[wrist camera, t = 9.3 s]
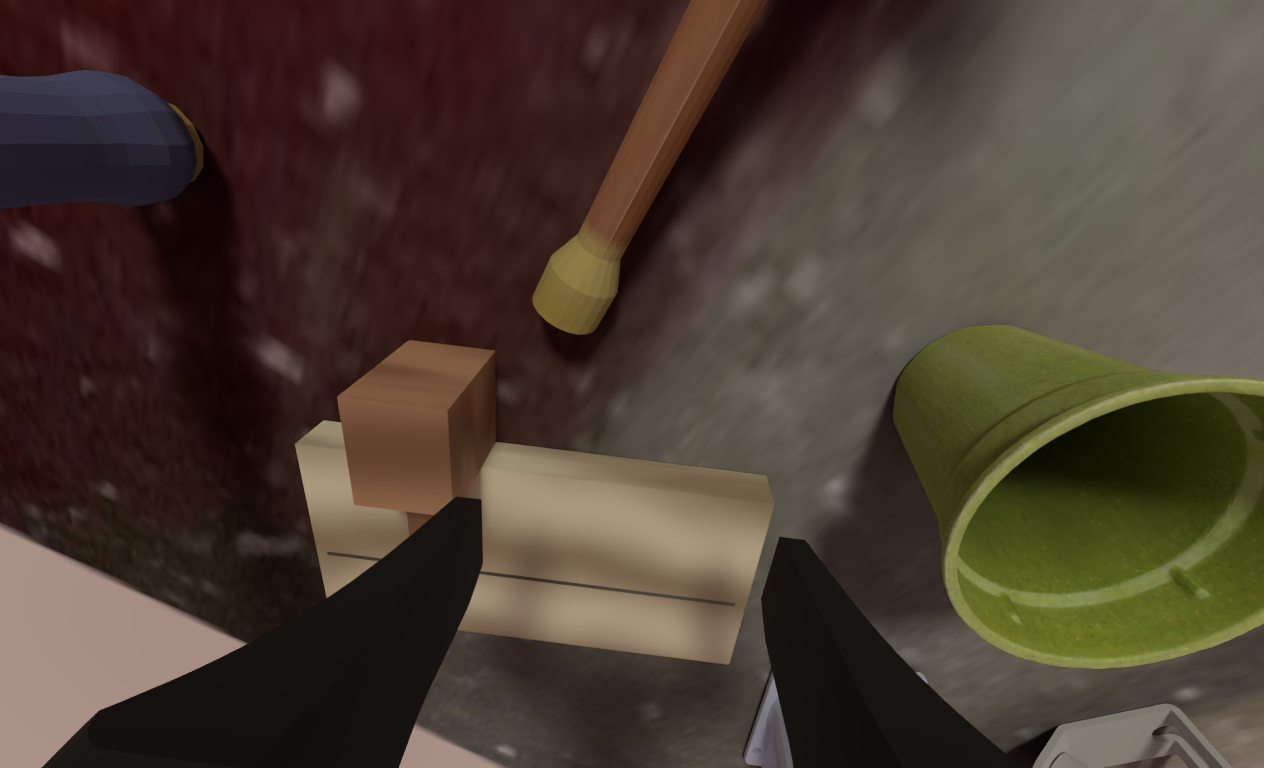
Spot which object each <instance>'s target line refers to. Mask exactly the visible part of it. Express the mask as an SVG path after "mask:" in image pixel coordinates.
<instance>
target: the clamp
mask: <svg viewBox="0 0 1264 768" xmlns="http://www.w3.org/2000/svg"><path fill="white" fill-rule="evenodd" d="M1168 725H1173V726H1175V727H1176V728H1177V729H1178V730H1179V731H1180V733H1181V734H1182V735H1183V736H1184V737H1185V738H1186V739H1187V741H1188V742H1189V743H1190V744H1191V745H1192V746H1193V748H1194V749H1195V750H1196V751H1197V752H1198V753H1199V755H1200V756H1201V757H1202V758H1203V759H1204V760H1205V762H1206V763H1207V764H1208V765H1209V766H1210V767H1211V768H1232V767H1231V766H1230V765H1229V764H1228V763H1227V761H1226V760H1225V759H1224V758H1223V757H1222V756H1221V755H1220V754H1219V753H1218V751H1217V750H1216V749H1215V748H1214V747H1213V746H1212V745H1211V744H1210V742H1209V741H1208V740H1207V739H1206V738H1205V737H1204V736H1203V735H1202V734H1201V732H1200V731H1199V730H1198V729H1197V728H1196V727H1195V726H1194V725H1193V723H1192V722H1191V721H1190V720H1189V719H1188V718H1187V717H1186V716H1185V715H1184V713H1183V712H1182V711H1181V710H1180V709H1179V708H1177V707H1176V706H1174V705H1171V704H1165V703H1164V704H1160V705H1155V706H1150V707H1145V708H1140V709H1135V710H1130V711H1126V712H1121V713H1116V714H1111V715H1106V716H1101V717H1096V718H1092V719H1087V720H1082V721H1077V722H1072V723H1067V724H1062V725H1060V726H1058V728H1057V729H1056V731H1055V732H1054V734H1053V735H1052V737H1051V738H1050V740H1049V741H1048V743H1047V744H1046V746H1045V747H1044V749H1043V750H1042V752H1041V753H1040V755H1039V756H1038V758H1037V760H1036V762H1035V764H1034V766H1033V768H1103V767H1108V766H1113V765H1119V764H1124V763H1130V762H1135V761H1140V760H1146V759H1151V758H1157V757H1162V756H1167V755H1173V754H1177V755H1179V756H1180V757H1181V758H1182V760H1183V761H1184V762H1185V763H1186V764H1187V766H1188V767H1189V768H1208V767H1207V766H1206V765H1205V764H1204V763H1203V761H1202V760H1201V759H1200V758H1199V757H1198V756H1197V754H1196V753H1195V752H1194V751H1193V750H1192V749H1191V747H1190V746H1189V745H1188V744H1187V743H1186V742H1185V740H1183V739H1182V738H1181V737H1179V736H1177V735H1174V734H1163V735H1158V736H1156V735H1152V733H1153V731H1154V730H1155V729H1157V728H1159V727H1163V726H1168Z"/></svg>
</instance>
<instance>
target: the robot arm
mask: <svg viewBox="0 0 1264 768" xmlns="http://www.w3.org/2000/svg"><path fill="white" fill-rule="evenodd" d="M482 565H483V540H482V499H474V498H466V497H458V496H456V497H455V498H454V499H452V500H451V501H450V502H449V503H448V504H446V505H445V506H444V507H443V508H442V509H441V510H439V511H438V512H437V513H436V514H435V515H434V516H433V517H431V518H430V519H429V520H428V521H427V522H426V523H424V524H423V525H422V526H421V527H420V528H419V529H417V530H416V531H415V532H414V533H413V534H412V535H410V536H409V537H408V538H407V539H405V540H404V541H403V542H402V543H401V544H399V545H398V546H397V547H396V548H394V549H393V550H392V551H391V552H390V553H388V554H387V555H386V556H384V557H383V558H382V559H381V560H379V561H378V562H377V563H375V564H374V565H373V566H371V567H370V568H368V569H367V570H366V571H364V572H363V573H362V574H360V575H359V576H358V577H356V578H355V579H354V580H352V581H351V582H350V583H348V584H347V585H345V586H344V587H342V588H341V589H339V590H338V591H337V592H335V593H334V594H332V595H331V596H329V597H328V598H326V599H324V600H323V601H321V602H320V603H318V604H317V605H315V606H314V607H312V608H310V609H309V610H307V611H305V612H304V613H302V614H301V615H299V616H297V617H295V618H294V619H292V620H290V621H288V622H286V623H285V624H283V625H281V626H279V627H277V628H276V629H274V630H272V631H270V632H269V633H267V634H265V635H263V636H261V637H260V638H258V639H256V640H254V641H252V642H251V643H249V644H247V645H245V646H243V647H241V648H239V649H237V650H235V651H233V652H231V653H229V654H227V655H225V656H223V657H221V658H219V659H217V660H215V661H213V662H211V663H209V664H206V665H204V666H202V667H200V668H198V669H196V670H194V671H192V672H189V673H187V674H185V675H183V676H181V677H179V678H176V679H174V680H172V681H170V682H167V683H165V684H162V685H160V686H157V687H155V688H153V689H150V690H148V691H146V692H143V693H141V694H139V695H136V696H134V697H131V698H129V699H127V700H124V701H122V702H120V703H117V704H115V705H112V706H110V707H107V708H105V709H102V710H100V711H98V712H97V713H96V714H95V715H94V716H93V717H92V718H91V719H90V720H89V721H88V722H87V723H86V724H85V725H84V726H83V727H82V728H81V729H80V730H79V731H78V732H77V733H76V734H75V735H74V736H72V738H71V739H70V740H69V741H68V742H67V743H66V744H65V745H64V746H63V747H62V748H61V749H60V750H59V751H58V752H57V753H56V754H55V755H54V756H53V757H52V758H51V759H50V760H49V761H48V762H47V763H46V764H45V765H44V766H43V767H42V768H399V765H400V763H401V760H402V757H403V754H404V752H405V749H406V746H407V744H408V741H409V738H410V735H411V732H412V730H413V727H414V724H415V722H416V719H417V716H418V714H419V712H420V709H421V707H422V705H423V702H424V700H425V698H426V695H427V693H428V691H429V689H430V687H431V685H432V682H433V680H434V678H435V676H436V674H437V672H438V670H439V668H440V666H441V663H442V661H443V659H444V657H445V655H446V653H447V651H448V649H449V647H450V644H451V642H452V640H453V638H454V636H455V634H456V632H457V630H458V627H459V625H460V623H461V621H462V619H463V617H464V615H465V612H466V610H467V608H468V606H469V604H470V601H471V598H472V595H473V592H474V589H475V586H476V583H477V580H478V577H479V574H480V571H481V568H482ZM761 602H762V613H763V623H764V631H765V640H766V645H767V650H768V654H769V659H770V663H771V668H772V673H771V676H770V679H769V682H768V685H767V688H766V691H765V694H764V697H763V700H762V703H761V706H760V709H759V712H758V714H757V717H756V720H755V723H754V726H753V729H752V732H751V735H750V738H749V741H748V744H747V747H746V750H745V753H744V757H745V761H746V763H748V764H750V765H756V766H761V768H1023V767H1022V766H1020V765H1019V764H1018V763H1017V762H1015V761H1014V760H1013V759H1012V758H1010V757H1009V756H1008V755H1007V754H1005V753H1004V752H1003V751H1002V750H1001V749H999V748H998V747H997V746H996V745H994V744H993V743H992V742H991V741H990V740H988V739H987V738H986V737H985V736H984V735H983V734H982V733H980V732H979V731H978V730H977V729H976V728H975V727H974V726H972V725H971V724H970V723H969V722H968V721H967V720H966V719H964V718H963V717H962V716H961V715H960V714H959V713H958V712H956V711H955V710H954V709H953V708H952V707H951V706H950V705H949V704H948V703H947V702H946V701H944V700H943V699H942V698H941V697H940V696H939V695H938V694H937V693H936V692H935V691H934V690H933V689H932V688H931V687H930V686H929V685H928V684H927V683H928V682H927V680H926V678H925V676H924V674H922V673H920V672H915V671H914V670H913V669H912V668H911V667H910V666H909V665H908V664H907V663H906V662H905V661H904V660H903V659H902V658H901V657H900V656H899V655H898V654H897V653H896V651H895V650H894V649H893V648H892V647H891V646H890V645H889V644H888V643H887V641H886V640H885V639H884V638H883V637H882V636H881V635H880V634H879V633H878V631H877V630H876V629H875V628H874V627H873V626H872V624H871V623H870V622H869V621H868V620H867V619H866V617H865V616H864V615H863V614H862V613H861V611H860V610H859V609H858V608H857V607H856V605H855V604H854V603H853V602H852V600H851V599H850V598H849V597H848V595H847V594H846V593H845V592H844V590H843V589H842V588H841V586H840V585H839V584H838V583H837V581H836V580H835V579H834V577H833V576H832V575H831V574H830V572H829V571H828V570H827V568H826V567H825V566H824V564H823V563H822V562H821V560H820V559H819V558H818V556H817V555H816V554H815V552H814V551H813V550H812V548H811V547H810V546H809V545H808V543H807V542H806V541H805V540H800V539H792V538H784V537H779V540H778V544H777V547H776V551H775V554H774V557H773V561H772V564H771V567H770V571H769V574H768V577H767V581H766V584H765V587H764V591H763V594H762V597H761Z"/></svg>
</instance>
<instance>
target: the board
mask: <svg viewBox="0 0 1264 768" xmlns="http://www.w3.org/2000/svg"><path fill="white" fill-rule="evenodd" d="M295 447H296V452H297V456H298V461H299V466H300V471H301V476H302V481H303V485H304V490H305V495H306V500H307V505H308V510H309V514H310V519H311V524H312V529H313V534H314V539H315V543H316V548H317V553H318V558H319V563H320V568H321V572H322V577H323V582H324V587H325V592H326V597H327V598H328V597H329V596H331V595H332V594H334V593H335V592H337V591H338V590H339V589H341V588H342V587H344V586H345V585H347V584H348V583H350V582H351V581H352V580H354V579H355V578H356V577H358V576H359V575H360V574H362V573H363V572H364V571H366V570H367V569H368V568H370V567H371V566H373V565H374V564H375V563H377V562H378V561H379V560H381V559H382V558H383V557H384V556H386V555H387V554H388V553H390V552H391V551H392V550H393V549H394V548H396V547H397V546H398V545H399V544H401V543H402V542H403V541H404V540H405V539H407V538H408V537H409V529H408V519H407V512H405V511H397V510H389V509H381V508H373V507H365V506H357V505H354V501H353V494H352V488H351V482H350V475H349V469H348V463H347V456H346V450H345V444H344V437H343V431H342V425H341V422H333V421H325V420H324V421H322V422H321V423H320V424H319V425H318V426H316V427H315V428H314V429H313V430H311V431H310V432H309V433H308V434H307V435H305V436H304V437H303V438H302V439H301V440H299V441H298V442H297V443H296V444H295ZM465 497H466V498H474V499H482V540H483V565H482V568H481V571H480V574H479V577H478V580H477V583H476V586H475V589H474V592H473V595H472V598H471V601H470V604H469V606H468V608H467V610H466V612H465V615H464V617H463V619H462V621H461V623H460V625H459V627H458V630H461V631H469V632H477V633H485V634H493V635H500V636H508V637H516V638H524V639H532V640H540V641H547V642H555V643H563V644H571V645H579V646H586V647H594V648H602V649H610V650H618V651H625V652H633V653H641V654H649V655H657V656H665V657H672V658H680V659H688V660H696V661H704V662H711V663H719V664H727V665H729V663H730V660H731V656H732V653H733V649H734V646H735V642H736V639H737V635H738V632H739V628H740V625H741V621H742V618H743V614H744V610H745V607H746V603H747V600H748V596H749V593H750V589H751V586H752V582H753V579H754V575H755V572H756V568H757V565H758V561H759V558H760V554H761V551H762V547H763V543H764V540H765V536H766V533H767V529H768V526H769V522H770V519H771V515H772V512H773V508H774V505H775V503H774V500H773V497H772V493H771V490H770V486H769V483H768V480H767V476H766V475H758V474H750V473H742V472H734V471H726V470H718V469H710V468H702V467H694V466H686V465H678V464H670V463H662V462H654V461H646V460H638V459H630V458H622V457H614V456H606V455H598V454H590V453H582V452H574V451H566V450H557V449H549V448H541V447H533V446H525V445H517V444H509V443H501V442H495V444H494V446H493V448H492V450H491V451H490V453H489V455H488V457H487V458H486V460H485V462H484V464H483V466H482V467H481V469H480V471H479V473H478V474H477V476H476V478H475V480H474V482H473V483H472V485H471V487H470V489H469V490H468V492H467V494H466V496H465Z"/></svg>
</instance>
